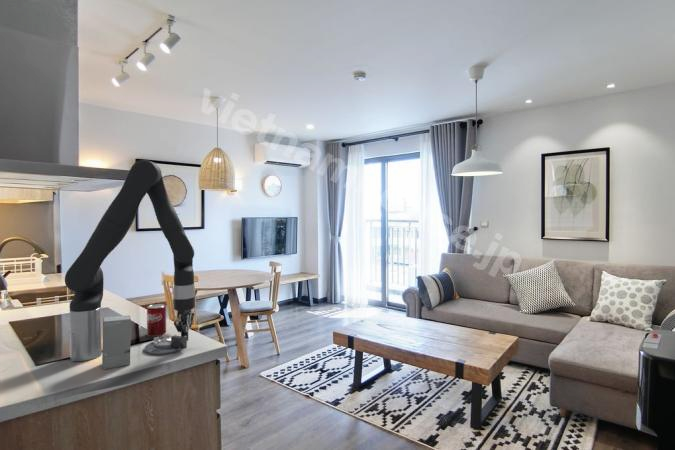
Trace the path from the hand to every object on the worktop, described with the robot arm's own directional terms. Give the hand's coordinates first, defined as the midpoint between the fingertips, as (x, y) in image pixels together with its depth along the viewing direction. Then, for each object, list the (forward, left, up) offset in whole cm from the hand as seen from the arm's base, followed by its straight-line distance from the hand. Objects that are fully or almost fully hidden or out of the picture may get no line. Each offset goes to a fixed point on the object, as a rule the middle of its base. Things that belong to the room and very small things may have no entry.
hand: (184, 341), depth 143 cm
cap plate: (-6, +4, -3) cm, 8 cm away
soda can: (-4, +23, -3) cm, 24 cm away
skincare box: (-23, -1, -3) cm, 23 cm away
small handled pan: (-5, +2, -1) cm, 5 cm away
